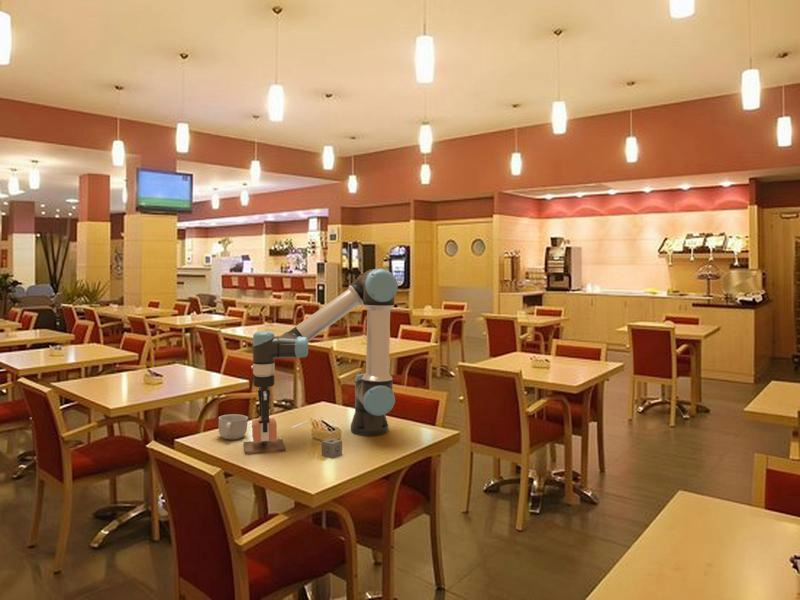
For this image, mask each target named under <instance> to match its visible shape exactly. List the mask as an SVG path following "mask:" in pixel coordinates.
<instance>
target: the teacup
mask: <svg viewBox="0 0 800 600" xmlns="http://www.w3.org/2000/svg"><path fill="white" fill-rule="evenodd" d="M248 421H249V416H247V415H243V414H235V413H234V414H233V413H232V414H231V413H230V414H224V415H220V416H218V433H219V435H220V436H221V437H222V438H223V439H225V440H231V441H232V440H238V439H241V438H243V436H245V435H246V433H247V430H248Z"/></svg>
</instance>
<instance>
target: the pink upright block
mask: <svg viewBox="0 0 800 600" xmlns="http://www.w3.org/2000/svg"><path fill="white" fill-rule="evenodd" d="M269 420H270V421H269V441H274V440H277V439H278V438H277V437H278V436H277V434H278V433H277V430H278V429H277V422H276V418H275V417H269ZM260 421H261V419H259V418H255V419H254V418H253V419H251V422H252V423H251V425H252V428H251V431H252V432H251V433H252V435H251V436H252V441H253V442H261V423H260V424H259V422H260Z"/></svg>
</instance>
